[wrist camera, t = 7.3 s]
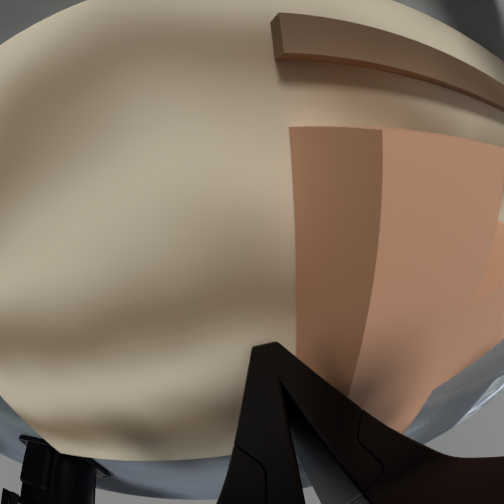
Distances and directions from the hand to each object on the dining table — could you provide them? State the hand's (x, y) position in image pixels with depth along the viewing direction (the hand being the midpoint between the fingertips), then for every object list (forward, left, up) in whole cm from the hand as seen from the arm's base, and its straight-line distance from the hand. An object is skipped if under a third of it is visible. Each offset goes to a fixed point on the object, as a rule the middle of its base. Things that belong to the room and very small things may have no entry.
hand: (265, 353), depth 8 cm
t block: (0, -8, -2) cm, 8 cm away
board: (0, -2, -3) cm, 3 cm away
